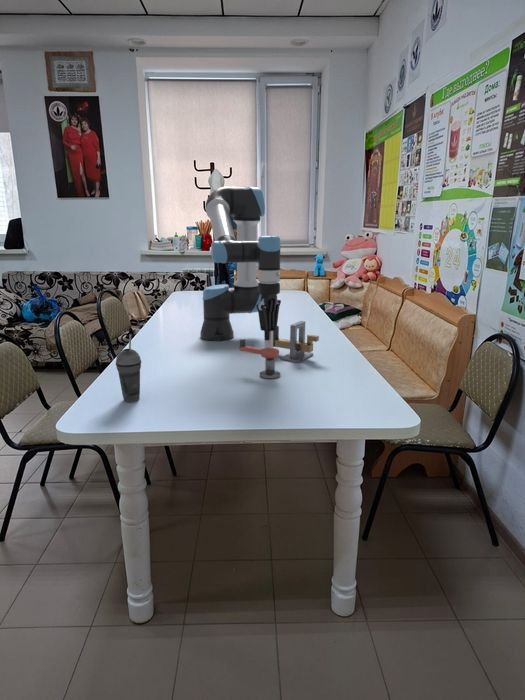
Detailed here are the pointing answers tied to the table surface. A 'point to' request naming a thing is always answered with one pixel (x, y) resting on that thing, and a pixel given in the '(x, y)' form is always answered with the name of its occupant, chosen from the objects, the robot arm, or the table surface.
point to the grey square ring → (294, 354)
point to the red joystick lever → (259, 350)
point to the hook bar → (300, 345)
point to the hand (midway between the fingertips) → (268, 348)
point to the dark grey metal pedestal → (269, 369)
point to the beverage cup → (129, 373)
